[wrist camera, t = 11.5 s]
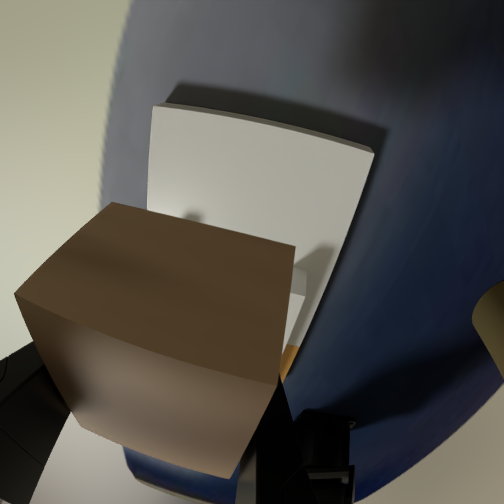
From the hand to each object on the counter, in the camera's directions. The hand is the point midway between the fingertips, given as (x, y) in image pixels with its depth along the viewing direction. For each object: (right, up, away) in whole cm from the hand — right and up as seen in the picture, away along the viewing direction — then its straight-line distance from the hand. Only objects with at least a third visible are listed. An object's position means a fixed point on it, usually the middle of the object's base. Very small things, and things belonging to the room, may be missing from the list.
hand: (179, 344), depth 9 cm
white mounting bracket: (+1, +1, +14) cm, 14 cm away
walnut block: (0, +1, 0) cm, 1 cm away
